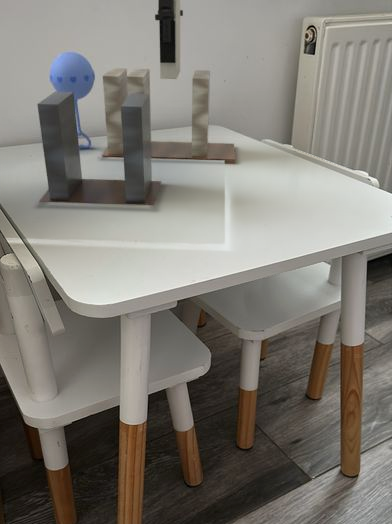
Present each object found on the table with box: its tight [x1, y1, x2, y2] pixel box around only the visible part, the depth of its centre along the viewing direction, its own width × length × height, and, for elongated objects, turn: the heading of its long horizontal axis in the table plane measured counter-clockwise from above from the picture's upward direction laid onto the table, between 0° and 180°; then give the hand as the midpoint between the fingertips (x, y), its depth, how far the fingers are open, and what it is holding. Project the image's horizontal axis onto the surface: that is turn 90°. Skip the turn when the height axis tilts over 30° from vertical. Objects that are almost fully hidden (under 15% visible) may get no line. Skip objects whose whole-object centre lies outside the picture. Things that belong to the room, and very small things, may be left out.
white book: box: [158, 0, 181, 80], centre depth 102 cm, size 3×10×14 cm, turn 178°
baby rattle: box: [48, 51, 96, 150], centre depth 111 cm, size 9×9×18 cm
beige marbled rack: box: [101, 67, 236, 165], centre depth 110 cm, size 26×12×15 cm, turn 88°
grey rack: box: [36, 91, 162, 206], centre depth 88 cm, size 18×12×15 cm, turn 88°
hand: (170, 58), depth 104 cm, fingers closed on white book, 10 cm apart
